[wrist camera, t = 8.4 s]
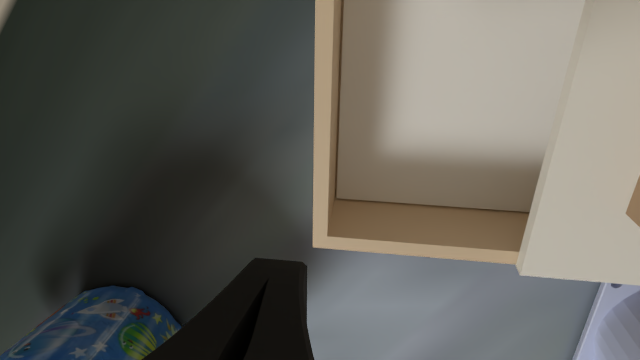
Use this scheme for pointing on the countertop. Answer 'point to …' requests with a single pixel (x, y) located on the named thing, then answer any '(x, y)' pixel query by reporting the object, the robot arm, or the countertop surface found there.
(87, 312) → the snack cup
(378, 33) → the mailer box
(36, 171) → the countertop surface
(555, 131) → the mailer lid
